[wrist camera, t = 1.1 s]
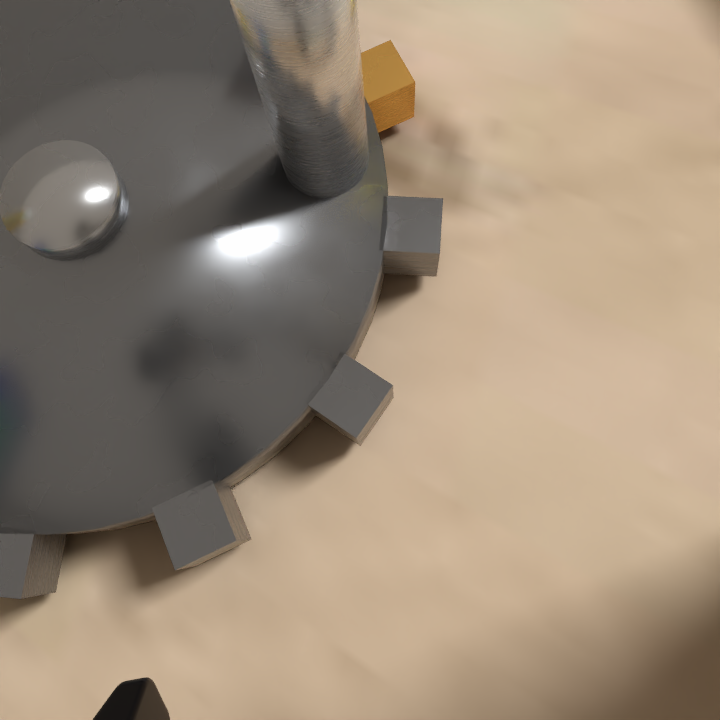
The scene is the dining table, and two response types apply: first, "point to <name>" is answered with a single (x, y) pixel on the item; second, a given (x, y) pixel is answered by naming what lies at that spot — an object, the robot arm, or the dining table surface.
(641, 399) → the dining table surface
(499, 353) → the dining table surface
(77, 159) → the sprocket
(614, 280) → the dining table surface
